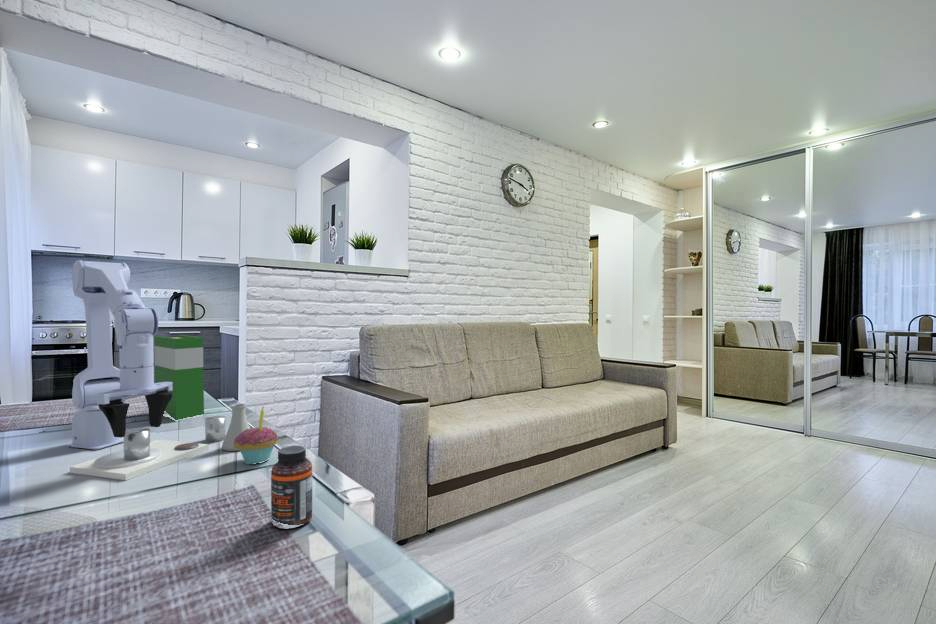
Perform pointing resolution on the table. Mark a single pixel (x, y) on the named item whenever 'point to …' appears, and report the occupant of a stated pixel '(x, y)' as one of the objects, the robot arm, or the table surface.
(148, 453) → the cylinder
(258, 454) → the cupcake
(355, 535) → the table surface
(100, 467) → the scale
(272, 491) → the supplement bottle
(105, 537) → the table surface
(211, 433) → the cylinder
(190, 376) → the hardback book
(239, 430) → the flask
